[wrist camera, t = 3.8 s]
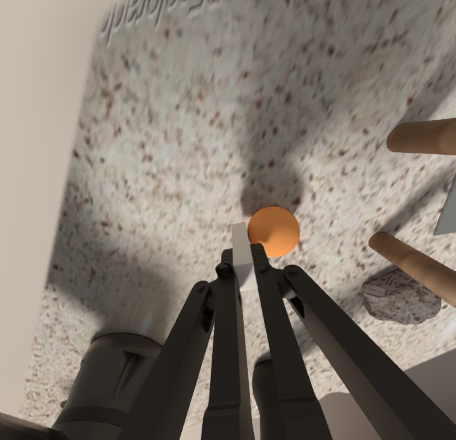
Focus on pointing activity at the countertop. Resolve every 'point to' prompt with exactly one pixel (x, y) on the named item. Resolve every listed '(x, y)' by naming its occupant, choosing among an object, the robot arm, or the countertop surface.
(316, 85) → the countertop surface
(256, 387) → the cola bottle
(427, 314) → the rock
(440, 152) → the post
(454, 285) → the post
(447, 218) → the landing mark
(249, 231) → the ball
